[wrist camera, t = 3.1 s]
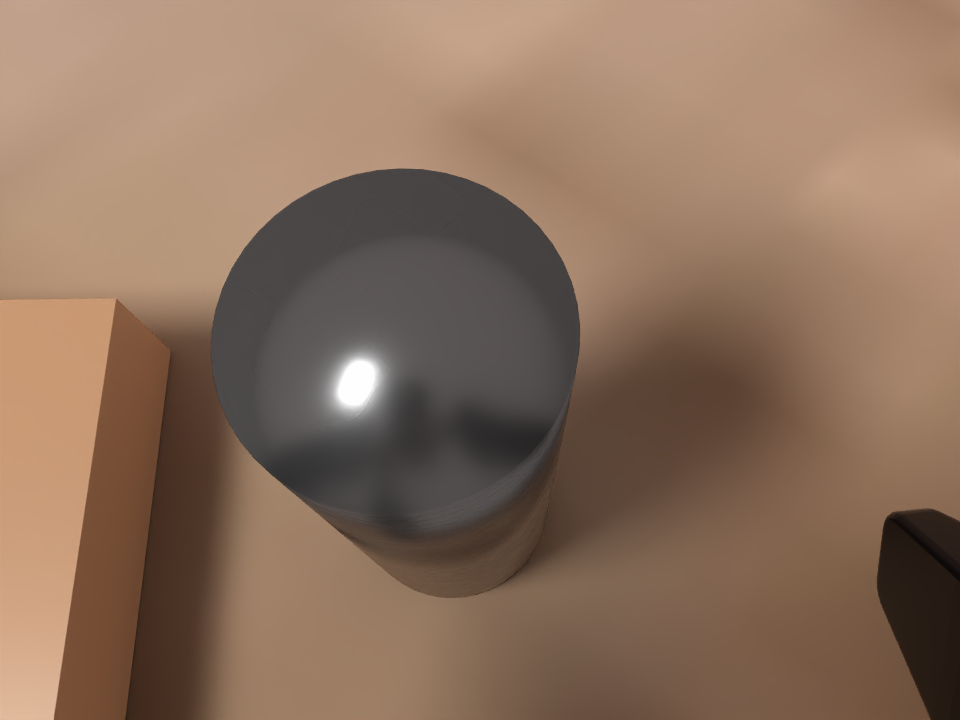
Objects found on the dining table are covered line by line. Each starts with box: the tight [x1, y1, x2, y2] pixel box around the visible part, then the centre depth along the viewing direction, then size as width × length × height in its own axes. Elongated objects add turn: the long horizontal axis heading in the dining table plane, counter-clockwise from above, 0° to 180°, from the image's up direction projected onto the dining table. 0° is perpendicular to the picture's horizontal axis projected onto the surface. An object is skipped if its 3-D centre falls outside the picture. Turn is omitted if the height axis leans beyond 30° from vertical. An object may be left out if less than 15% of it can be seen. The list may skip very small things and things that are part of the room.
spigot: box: [211, 169, 580, 598], centre depth 14 cm, size 4×4×10 cm
